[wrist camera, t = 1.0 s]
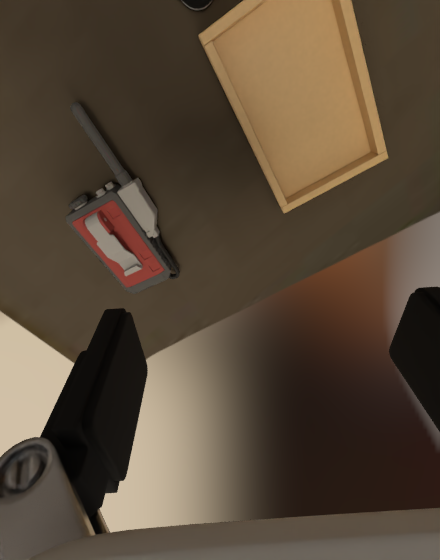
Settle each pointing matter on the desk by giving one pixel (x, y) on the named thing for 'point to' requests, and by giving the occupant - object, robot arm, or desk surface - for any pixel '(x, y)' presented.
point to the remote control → (197, 4)
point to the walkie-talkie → (121, 223)
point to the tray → (298, 92)
